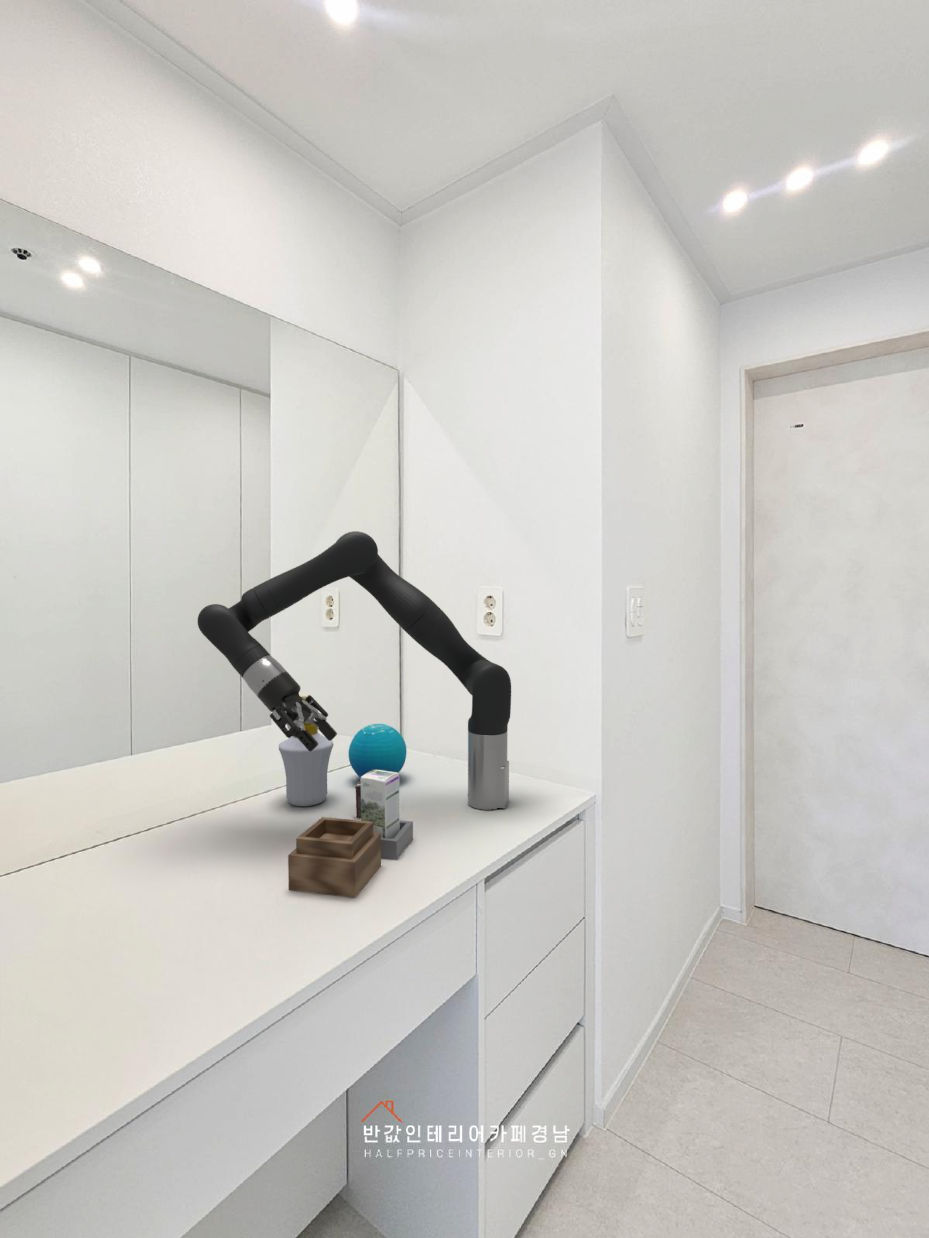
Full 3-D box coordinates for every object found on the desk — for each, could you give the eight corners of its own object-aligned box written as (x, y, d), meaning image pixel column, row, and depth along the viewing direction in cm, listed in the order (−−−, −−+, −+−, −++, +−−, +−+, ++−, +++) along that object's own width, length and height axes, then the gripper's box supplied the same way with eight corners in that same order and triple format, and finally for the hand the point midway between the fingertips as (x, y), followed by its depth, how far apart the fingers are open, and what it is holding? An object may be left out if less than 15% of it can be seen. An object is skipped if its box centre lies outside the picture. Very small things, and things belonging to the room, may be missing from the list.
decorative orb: (417, 776, 167) (416, 721, 166) (387, 793, 153) (387, 733, 153) (369, 769, 173) (368, 716, 172) (337, 785, 160) (336, 727, 159)
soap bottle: (285, 814, 140) (283, 705, 138) (274, 797, 151) (272, 696, 150) (340, 805, 146) (339, 700, 144) (326, 789, 157) (325, 691, 155)
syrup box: (401, 842, 125) (400, 771, 124) (385, 854, 119) (384, 779, 118) (376, 838, 127) (376, 767, 126) (360, 849, 122) (359, 775, 121)
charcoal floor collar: (412, 838, 127) (412, 821, 127) (396, 859, 117) (396, 841, 117) (366, 833, 129) (366, 817, 129) (346, 854, 119) (346, 836, 119)
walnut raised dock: (381, 865, 115) (380, 819, 114) (355, 897, 103) (354, 847, 102) (320, 859, 117) (319, 814, 117) (288, 889, 106) (287, 840, 105)
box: (388, 809, 143) (388, 777, 143) (382, 819, 137) (382, 786, 137) (362, 808, 144) (362, 777, 143) (355, 818, 138) (355, 785, 137)
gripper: (264, 675, 119) (320, 739, 117) (300, 666, 133) (351, 722, 131) (239, 702, 120) (295, 765, 118) (277, 689, 134) (327, 746, 132)
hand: (324, 742), depth 124 cm, fingers open, 8 cm apart
